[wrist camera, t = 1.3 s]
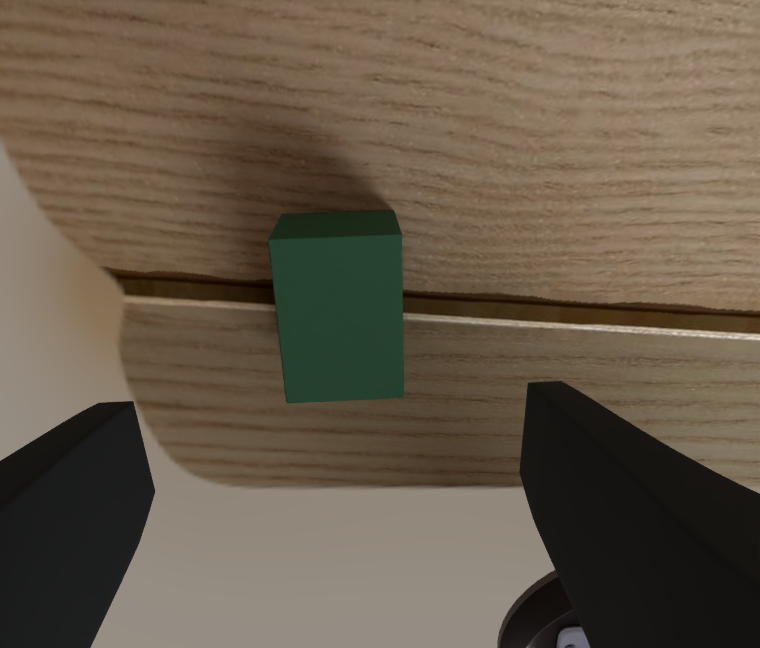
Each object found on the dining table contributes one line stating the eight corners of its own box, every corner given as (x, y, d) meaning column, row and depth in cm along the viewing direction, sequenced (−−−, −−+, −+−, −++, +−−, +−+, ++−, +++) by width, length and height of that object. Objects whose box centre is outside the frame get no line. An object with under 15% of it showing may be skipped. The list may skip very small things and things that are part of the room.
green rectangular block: (396, 353, 19) (404, 398, 16) (295, 357, 19) (286, 404, 16) (394, 209, 17) (402, 233, 14) (281, 214, 17) (267, 238, 14)
